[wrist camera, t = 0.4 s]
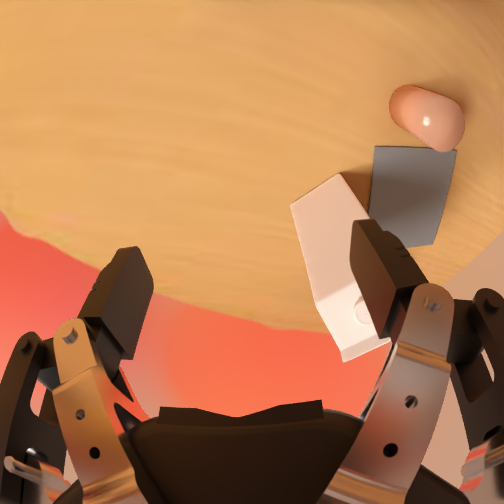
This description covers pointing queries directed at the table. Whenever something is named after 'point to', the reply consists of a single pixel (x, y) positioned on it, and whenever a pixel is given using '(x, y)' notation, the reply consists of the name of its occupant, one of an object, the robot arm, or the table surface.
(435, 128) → the pink rounded glossy part
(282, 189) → the table surface
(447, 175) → the mat
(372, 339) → the milk carton
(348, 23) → the table surface
